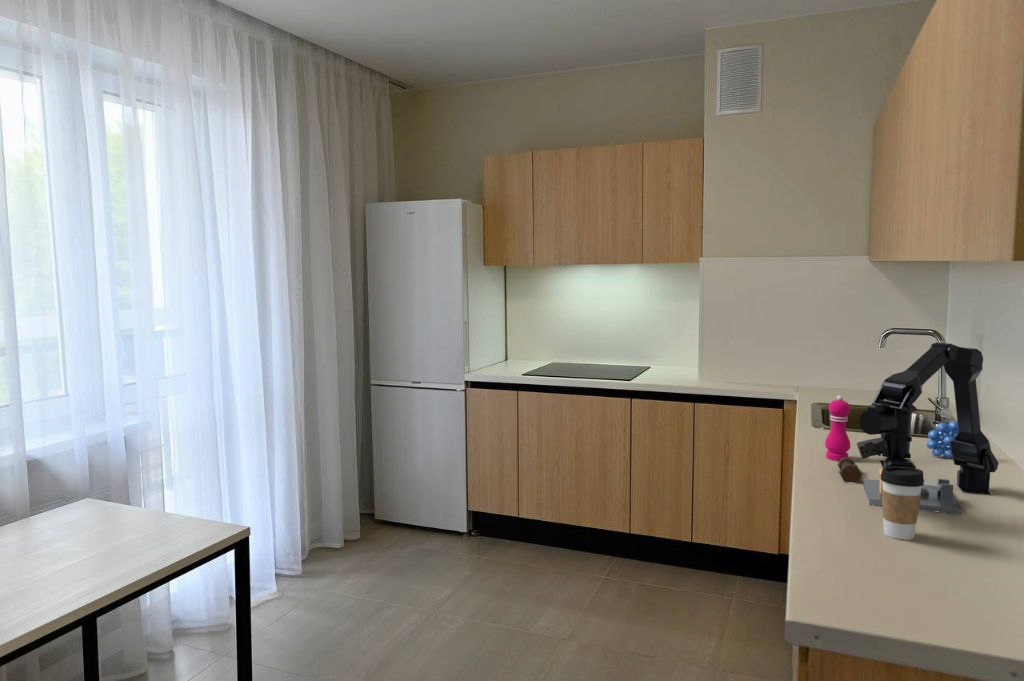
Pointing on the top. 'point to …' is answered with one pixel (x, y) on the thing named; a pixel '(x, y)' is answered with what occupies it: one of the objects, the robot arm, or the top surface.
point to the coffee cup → (901, 500)
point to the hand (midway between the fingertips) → (893, 492)
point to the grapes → (942, 439)
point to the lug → (880, 481)
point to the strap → (932, 486)
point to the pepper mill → (838, 430)
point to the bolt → (849, 470)
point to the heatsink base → (929, 497)
